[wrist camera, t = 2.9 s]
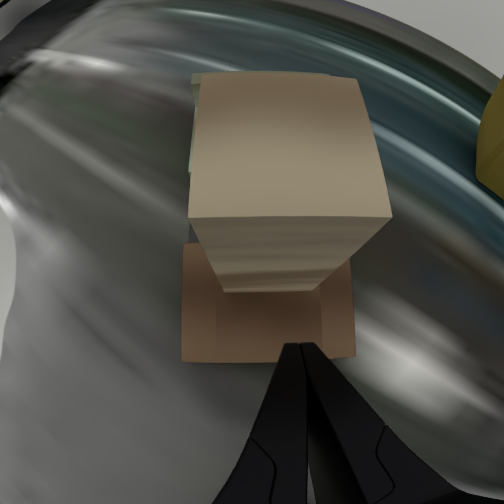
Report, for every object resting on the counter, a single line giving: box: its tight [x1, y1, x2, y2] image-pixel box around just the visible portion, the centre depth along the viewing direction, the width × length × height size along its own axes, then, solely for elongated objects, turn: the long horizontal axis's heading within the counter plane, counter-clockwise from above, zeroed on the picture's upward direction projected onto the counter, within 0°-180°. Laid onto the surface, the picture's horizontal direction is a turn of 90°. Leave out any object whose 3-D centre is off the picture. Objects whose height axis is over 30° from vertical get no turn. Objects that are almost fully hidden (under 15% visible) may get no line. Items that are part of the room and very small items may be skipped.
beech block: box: [188, 73, 392, 293], centre depth 13 cm, size 5×5×11 cm
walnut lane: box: [181, 71, 356, 363], centre depth 19 cm, size 19×10×4 cm, turn 1°
